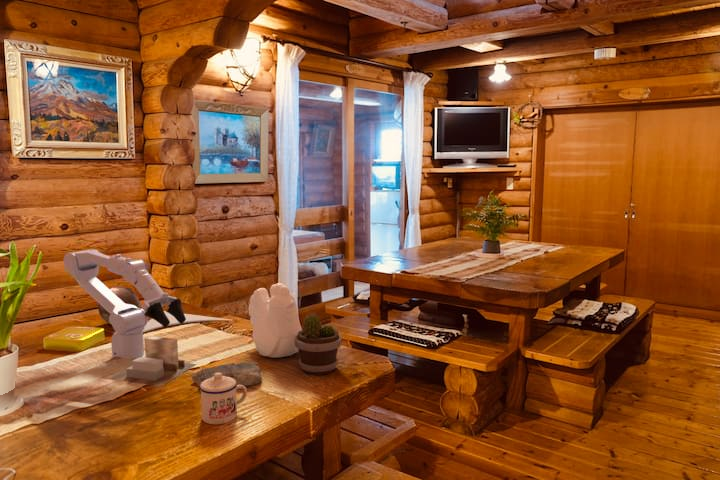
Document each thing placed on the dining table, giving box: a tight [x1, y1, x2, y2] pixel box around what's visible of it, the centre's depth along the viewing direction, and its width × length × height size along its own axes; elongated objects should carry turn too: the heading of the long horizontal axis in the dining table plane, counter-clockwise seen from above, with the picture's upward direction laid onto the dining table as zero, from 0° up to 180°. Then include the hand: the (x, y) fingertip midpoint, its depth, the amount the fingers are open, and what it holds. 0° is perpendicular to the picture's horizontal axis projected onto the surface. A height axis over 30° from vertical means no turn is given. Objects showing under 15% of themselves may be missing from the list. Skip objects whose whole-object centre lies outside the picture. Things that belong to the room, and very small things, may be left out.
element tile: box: [42, 325, 106, 353], centre depth 201 cm, size 15×15×5 cm
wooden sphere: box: [97, 286, 141, 325], centre depth 223 cm, size 15×15×15 cm
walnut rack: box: [108, 359, 197, 387], centre depth 172 cm, size 18×18×3 cm
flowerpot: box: [294, 310, 343, 376], centre depth 175 cm, size 14×15×20 cm
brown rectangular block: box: [144, 335, 179, 368], centre depth 176 cm, size 10×2×9 cm, turn 73°
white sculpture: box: [248, 282, 303, 358], centre depth 191 cm, size 25×16×25 cm, turn 31°
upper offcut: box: [131, 356, 163, 372], centre depth 168 cm, size 8×4×2 cm, turn 73°
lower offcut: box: [125, 365, 164, 381], centre depth 168 cm, size 10×4×2 cm, turn 73°
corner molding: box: [143, 310, 233, 334], centre depth 217 cm, size 30×2×30 cm
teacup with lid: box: [199, 373, 248, 425], centre depth 144 cm, size 12×9×12 cm
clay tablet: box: [191, 360, 263, 387], centre depth 167 cm, size 14×5×20 cm
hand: (175, 323), depth 175 cm, fingers open, 7 cm apart
